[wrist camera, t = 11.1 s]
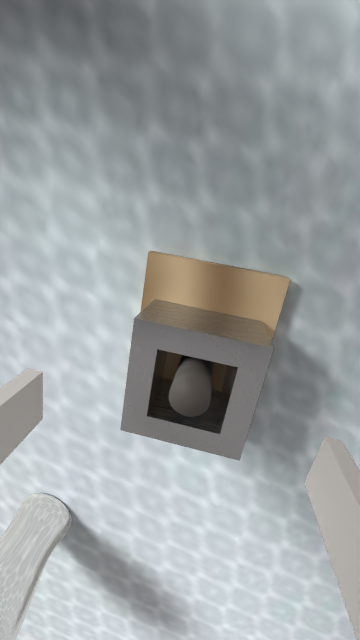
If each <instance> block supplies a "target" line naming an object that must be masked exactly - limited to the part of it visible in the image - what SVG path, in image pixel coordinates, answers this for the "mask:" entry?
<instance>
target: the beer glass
mask: <svg viewBox="0 0 360 640" xmlns="http://www.w3.org/2000/svg"><path fill="white" fill-rule="evenodd" d="M71 523H72V518H71V514H70V512H69V510H68V508H67V507H66V506H65V505H64V504H63V503H62V502H61V501H60V500H59V499H57V498H55V497H53V496H51V495H48V494H44V493H35V494H31V495H29V496H27V497H26V498H25V499H24V500H23V502H22V503H21V505H20V507H19V509H18V511H17V513H16V514H15V516H14V518H13V520H12V522H11V523H10V525H9V527H8V528H7V529H6V531H5V532H4V534H3V535H2V536H1V537H0V640H16V638H17V636H18V633H19V631H20V629H21V626H22V624H23V621H24V619H25V616H26V614H27V611H28V609H29V606H30V603H31V601H32V598H33V596H34V593H35V590H36V588H37V585H38V582H39V580H40V577H41V575H42V572H43V570H44V568H45V566H46V564H47V562H48V559H49V558H50V556H51V554H52V553H53V551H54V549H55V548H56V546H57V545H58V544H59V542H60V541H61V540H62V538H63V537H64V536H65V534H66V533H67V531H68V530H69V528H70V526H71Z"/></svg>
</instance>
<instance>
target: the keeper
mask: <svg viewBox="0 0 360 640" xmlns="http://www.w3.org/2000/svg"><path fill="white" fill-rule="evenodd" d="M289 283H290V279H289V278H288V277H285V276H280V275H275V274H270V273H265V272H259V271H254V270H249V269H244V268H239V267H233V266H228V265H223V264H218V263H213V262H208V261H202V260H197V259H192V258H187V257H182V256H177V255H171V254H166V253H161V252H156V251H150V252H149V253H148V261H147V268H146V276H145V283H144V291H143V298H142V306H141V311H143V310H144V309H145V308H146V307H147V306H148V305H149V304H150V303H151V302H152V301H153V300H154V299H158V300H163V301H168V302H173V303H178V304H182V305H187V306H192V307H197V308H202V309H206V310H211V311H216V312H221V313H226V314H230V315H235V316H240V317H245V318H250V319H254V320H259V321H262V322H263V324H264V326H265V329H266V331H267V333H268V336H269V338H270V340H271V342H272V338H273V335H274V332H275V329H276V325H277V322H278V319H279V315H280V312H281V309H282V306H283V302H284V299H285V296H286V292H287V289H288V286H289ZM227 366H228V365H225V364H221V363H217V362H212V361H208V360H203V359H199V358H194V357H190V356H185V355H181V354H177V353H172V352H167V357H166V363H165V369H164V375H163V378H166V379H170V380H173V383H172V386H171V388H170V391H169V402H170V404H171V406H172V408H173V409H174V410H175V411H176V412H178V413H180V414H182V415H184V416H190V417H193V416H198V415H201V414H202V413H204V412H205V411H206V410H207V409H208V407H209V405H210V399H211V389H213V390H217V391H221V390H222V386H223V382H224V378H225V374H226V370H227Z"/></svg>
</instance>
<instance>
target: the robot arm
mask: <svg viewBox="0 0 360 640" xmlns="http://www.w3.org/2000/svg"><path fill="white" fill-rule="evenodd" d="M42 419H43V372H41V371H37V370H33V369H28V368H27V369H26V370H24V371H23V372H22V373H20V374H19V375H17V376H16V377H15V378H13V379H12V380H11V381H9V382H8V383H7V384H5V385H4V386H3V387H1V388H0V464H1V463H2V462H3V461H4V460H5V459H6V458H7V457H8V456H9V455H10V454H11V452H12V451H13V450H14V449H15V448H16V447H17V446H18V445H19V444H20V443H21V442H22V441H23V439H24V438H25V437H26V436H27V435H28V434H29V433H30V432H31V431H32V430H33V429H34V428H35V426H36V425H37V424H38V423H39V422H40V421H41V420H42ZM304 483H305V486H306V489H307V492H308V495H309V498H310V501H311V504H312V507H313V510H314V513H315V516H316V519H317V522H318V525H319V528H320V531H321V534H322V537H323V540H324V543H325V546H326V549H327V552H328V555H329V558H330V561H331V564H332V567H333V570H334V573H335V576H336V579H337V582H338V585H339V588H340V591H341V594H342V597H343V600H344V603H345V606H346V609H347V612H348V615H349V618H350V621H351V624H352V627H353V630H354V633H355V636H356V639H357V640H360V470H359V469H358V467H357V465H356V463H355V462H354V460H353V458H352V457H351V455H350V453H349V451H348V450H347V448H346V446H345V444H344V443H343V441H341V440H337V439H332V438H328V437H324V439H323V442H322V444H321V446H320V448H319V451H318V453H317V455H316V457H315V460H314V462H313V464H312V467H311V469H310V471H309V473H308V476H307V478H306V480H305V482H304Z"/></svg>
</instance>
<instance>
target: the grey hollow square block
mask: <svg viewBox="0 0 360 640" xmlns="http://www.w3.org/2000/svg"><path fill="white" fill-rule="evenodd" d="M273 350H274V347H273V345H272V343H271V340H270V338H269V336H268V333H267V331H266V329H265V326H264V324H263V322H262V321H259V320H254V319H250V318H245V317H240V316H235V315H230V314H226V313H221V312H216V311H211V310H206V309H202V308H197V307H192V306H187V305H182V304H178V303H173V302H168V301H163V300H158V299H154V300H153V301H152V302H151V303H150V304H149V305H148V306H147V307H146V308H145V309H144V310H143V311H141V312H140V313H139V314H138V315H137V316H136V317H135V318H134V325H133V333H132V341H131V349H130V357H129V365H128V373H127V381H126V390H125V398H124V406H123V414H122V422H121V430H123V431H127V432H130V433H134V434H138V435H142V436H146V437H150V438H154V439H158V440H162V441H165V442H169V443H173V444H177V445H181V446H185V447H189V448H193V449H197V450H201V451H204V452H208V453H212V454H216V455H220V456H224V457H228V458H232V459H236V460H240V457H241V454H242V450H243V447H244V444H245V441H246V437H247V434H248V431H249V428H250V424H251V421H252V418H253V415H254V411H255V408H256V405H257V402H258V398H259V395H260V392H261V389H262V386H263V382H264V379H265V376H266V373H267V369H268V366H269V363H270V360H271V356H272V353H273ZM167 352H172V353H177V354H181V355H185V356H190V357H194V358H199V359H203V360H208V361H212V362H217V363H221V364H225V365H228V366H227V370H226V374H225V378H224V382H223V386H222V390H221V391H217V390H213V389H211V399H210V405H209V407H208V409H207V410H206V411H205V412H204V413H202V414H201V415H198V416H193V417H190V416H184V415H182V414H180V413H178V412H176V411H175V410H174V409H173V408H172V406H171V404H170V402H169V391H170V388H171V386H172V383H173V380H170V379H166V378H163V375H164V369H165V363H166V357H167Z"/></svg>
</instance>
